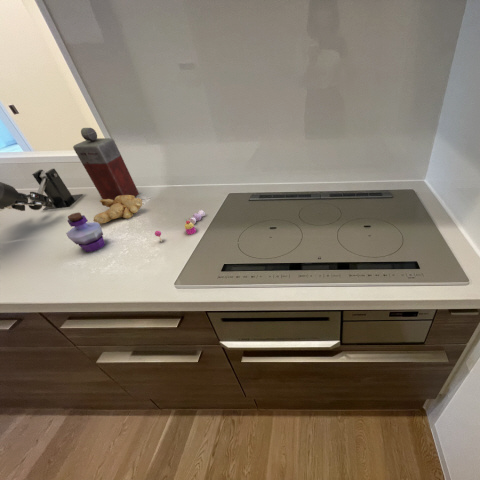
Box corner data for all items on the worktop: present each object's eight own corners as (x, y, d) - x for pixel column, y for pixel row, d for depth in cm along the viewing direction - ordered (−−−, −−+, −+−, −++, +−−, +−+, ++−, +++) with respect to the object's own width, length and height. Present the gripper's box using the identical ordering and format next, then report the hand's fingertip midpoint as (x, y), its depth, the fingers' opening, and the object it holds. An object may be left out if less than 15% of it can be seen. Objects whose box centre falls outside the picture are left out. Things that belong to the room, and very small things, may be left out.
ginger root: (147, 196, 107) (138, 180, 101) (150, 223, 98) (140, 207, 92) (103, 206, 103) (90, 190, 96) (101, 235, 94) (87, 219, 87)
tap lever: (43, 211, 93) (35, 205, 91) (32, 212, 93) (24, 207, 90) (55, 175, 101) (49, 169, 99) (46, 176, 101) (39, 170, 98)
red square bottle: (113, 194, 112) (75, 124, 95) (139, 194, 112) (106, 124, 95) (99, 205, 105) (56, 131, 88) (127, 204, 105) (89, 131, 88)
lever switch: (71, 209, 103) (48, 175, 94) (44, 212, 101) (19, 178, 93) (84, 196, 111) (65, 164, 103) (60, 199, 110) (38, 167, 102)
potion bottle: (82, 243, 85) (60, 211, 78) (113, 236, 88) (94, 205, 80) (75, 259, 78) (50, 226, 71) (109, 251, 81) (88, 218, 74)
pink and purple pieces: (194, 215, 98) (189, 200, 94) (213, 218, 96) (208, 203, 92) (157, 243, 84) (150, 228, 80) (178, 248, 82) (171, 232, 79)
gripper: (16, 176, 79) (60, 194, 95) (-41, 181, 77) (14, 198, 93) (16, 200, 78) (61, 214, 94) (-42, 206, 76) (14, 219, 92)
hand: (37, 206), depth 93 cm, fingers open, 8 cm apart
